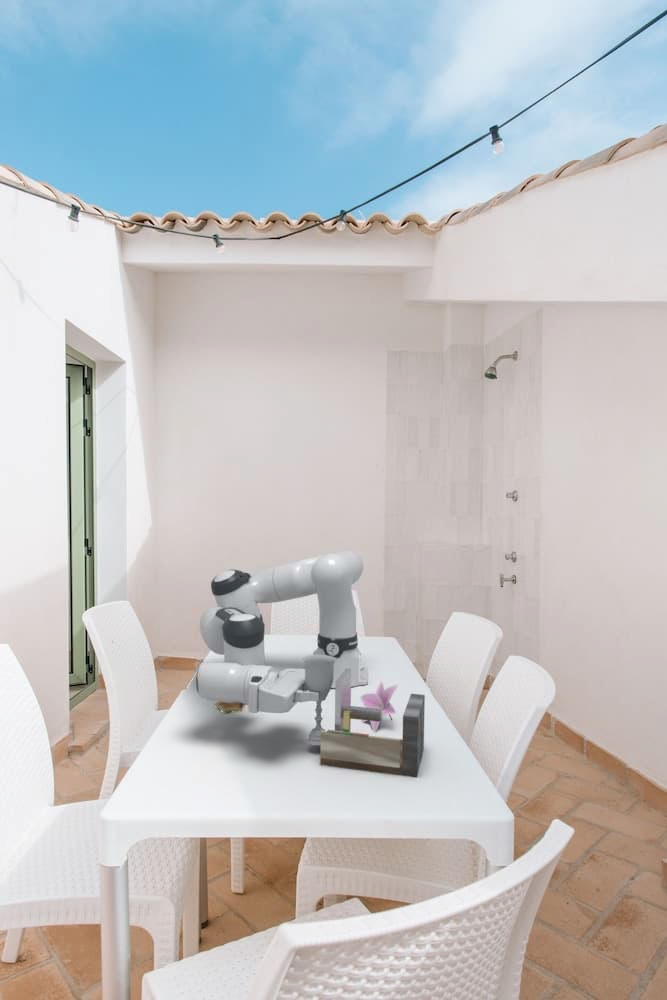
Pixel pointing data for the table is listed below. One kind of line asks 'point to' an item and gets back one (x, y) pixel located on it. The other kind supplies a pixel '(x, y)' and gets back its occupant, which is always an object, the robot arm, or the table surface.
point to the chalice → (318, 687)
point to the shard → (229, 706)
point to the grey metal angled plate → (345, 703)
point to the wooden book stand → (379, 746)
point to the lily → (379, 702)
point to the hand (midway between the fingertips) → (322, 691)
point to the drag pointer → (347, 721)
